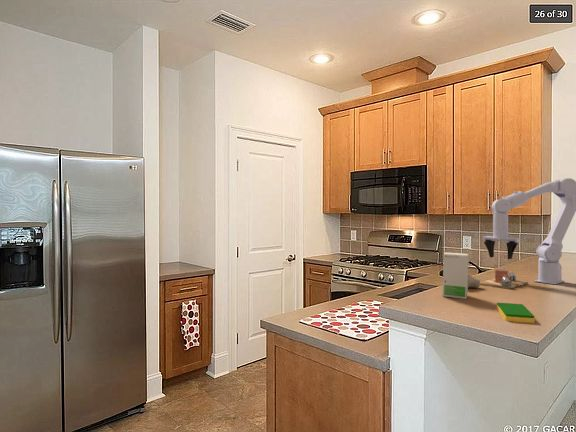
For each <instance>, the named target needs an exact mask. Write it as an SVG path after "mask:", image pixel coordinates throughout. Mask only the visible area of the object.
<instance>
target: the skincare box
mask: <svg viewBox="0 0 576 432" xmlns="http://www.w3.org/2000/svg"><path fill="white" fill-rule="evenodd" d="M442 264H443V266H442V267H443V269H442V297H445V298H448V297H449V298H454V299H464V300H467V298H468V289H469V288H468V274H469V253H461V252H448V251H447V252H444V253H443V263H442Z"/></svg>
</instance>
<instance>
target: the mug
mask: <svg viewBox="0 0 576 432" xmlns="http://www.w3.org/2000/svg"><path fill="white" fill-rule="evenodd" d="M480 282H481V280H480V279H479V278H478V277H477V278H476V277H474V276H472V275H470V274H469V273H468V289H469V288H473V289H478V288H479V287H480V286H481V285H480Z"/></svg>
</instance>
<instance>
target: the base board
mask: <svg viewBox="0 0 576 432" xmlns="http://www.w3.org/2000/svg"><path fill="white" fill-rule="evenodd" d="M528 283H529V282H528V281H525V280H517V279H516V281H511V286H501V285H500V283H497V282H495V278H491V279H487V280H482V281H480V286H488V287H494V288H500V289H507V290H510V289H513V288H517V287H520V285H521V286H524V284H525V285H527V284H528Z"/></svg>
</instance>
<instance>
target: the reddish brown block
mask: <svg viewBox="0 0 576 432" xmlns="http://www.w3.org/2000/svg"><path fill="white" fill-rule="evenodd" d="M494 273H495V274H494V275H495V277H494V279H495V282H497V283H500V279H501V278H502V277H503V276H505V277H507V278H508V279H509V273H510V269H502V268H496V269H495V271H494Z"/></svg>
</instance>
